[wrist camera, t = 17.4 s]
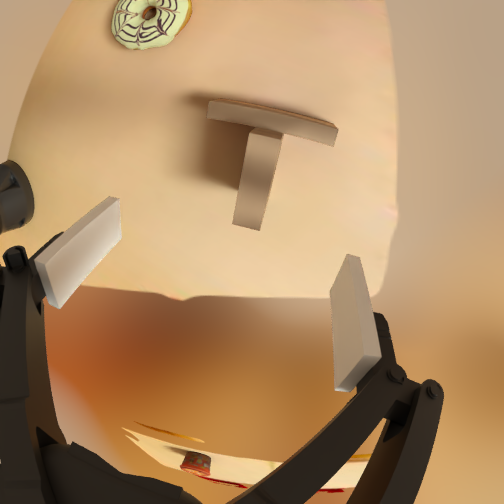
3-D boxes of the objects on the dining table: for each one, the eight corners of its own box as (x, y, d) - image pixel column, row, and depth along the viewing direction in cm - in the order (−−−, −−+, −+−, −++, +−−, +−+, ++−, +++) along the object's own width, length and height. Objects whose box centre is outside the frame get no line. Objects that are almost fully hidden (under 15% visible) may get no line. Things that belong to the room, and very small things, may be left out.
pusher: (308, 208, 38) (309, 243, 30) (207, 184, 38) (183, 212, 31) (333, 123, 31) (344, 135, 24) (221, 98, 31) (196, 103, 24)
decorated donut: (183, 53, 28) (171, 51, 25) (116, 49, 28) (100, 48, 25) (204, -15, 23) (194, -24, 19) (133, -14, 22) (119, -19, 19)
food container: (211, 454, 112) (207, 472, 103) (216, 461, 121) (211, 478, 112) (181, 447, 114) (175, 465, 105) (188, 455, 123) (183, 471, 114)
